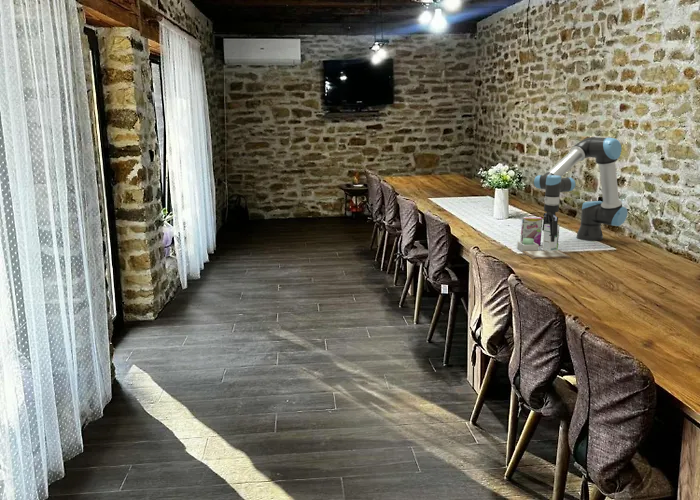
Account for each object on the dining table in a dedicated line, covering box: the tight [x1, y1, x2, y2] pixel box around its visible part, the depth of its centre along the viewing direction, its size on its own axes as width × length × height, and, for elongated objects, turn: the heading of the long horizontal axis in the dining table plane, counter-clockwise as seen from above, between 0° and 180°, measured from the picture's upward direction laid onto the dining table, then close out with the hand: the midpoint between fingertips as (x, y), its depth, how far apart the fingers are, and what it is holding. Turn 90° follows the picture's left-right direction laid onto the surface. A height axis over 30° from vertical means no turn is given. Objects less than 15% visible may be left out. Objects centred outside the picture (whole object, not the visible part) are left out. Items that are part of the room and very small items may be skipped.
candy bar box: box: [519, 216, 544, 246], centre depth 359 cm, size 11×5×16 cm, turn 84°
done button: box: [523, 238, 534, 245], centre depth 346 cm, size 6×6×4 cm
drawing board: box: [522, 249, 572, 260], centre depth 335 cm, size 21×15×1 cm
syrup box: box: [542, 224, 560, 251], centre depth 332 cm, size 6×6×14 cm
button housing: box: [516, 241, 540, 253], centre depth 347 cm, size 9×9×4 cm
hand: (548, 245), depth 333 cm, fingers closed on syrup box, 7 cm apart
